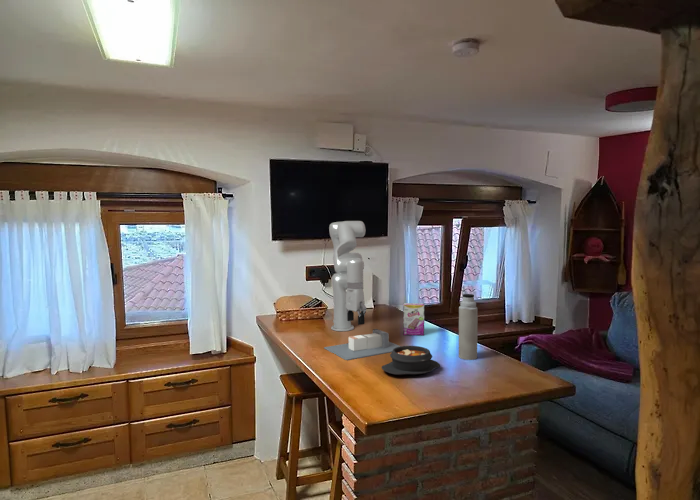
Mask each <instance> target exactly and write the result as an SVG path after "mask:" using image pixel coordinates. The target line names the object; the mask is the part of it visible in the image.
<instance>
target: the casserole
mask: <svg viewBox="0 0 700 500" xmlns="http://www.w3.org/2000/svg"><path fill="white" fill-rule="evenodd" d="M399 346H400V347H396V348H394V349H393V351H392V352H390V355H389V356H390V358H391V361H390V362H389V363H386V364H384V365H382V366H381V370H382V371H384V372H386V373H388V374H390V375H391V374H392V375H396V376H398V375H399V376H400V375H405V376H407V375H408V376H410V375H411V376H418V375H424V374H427V373H429V372H432V371H433V370H435V369H438V368H440V367H441V363H440V362H438V361H436V360H434V359H432V358H433V355H432V354H431V351H430V349H428V348H426V347H423V346H418V345H403V346H402V345H399Z"/></svg>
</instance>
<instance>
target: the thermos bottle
mask: <svg viewBox="0 0 700 500" xmlns="http://www.w3.org/2000/svg"><path fill="white" fill-rule="evenodd" d="M474 297H475V295H474V294H472V293H471V294H470V293H464V294H462V300H461V301H460V303H459V304H460V306H459V307H458V358H460V359H461V360H467V361H468V360H469V361H472V360H473V361H474V360H477V359H478V325H479V323H478V321H479V320H478V319H479V318H478V314H479V313H478V307H477V302H476V301H475V298H474Z"/></svg>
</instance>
